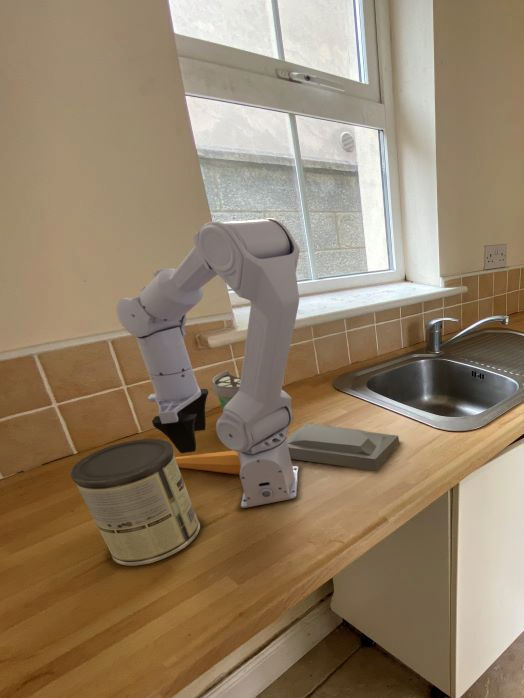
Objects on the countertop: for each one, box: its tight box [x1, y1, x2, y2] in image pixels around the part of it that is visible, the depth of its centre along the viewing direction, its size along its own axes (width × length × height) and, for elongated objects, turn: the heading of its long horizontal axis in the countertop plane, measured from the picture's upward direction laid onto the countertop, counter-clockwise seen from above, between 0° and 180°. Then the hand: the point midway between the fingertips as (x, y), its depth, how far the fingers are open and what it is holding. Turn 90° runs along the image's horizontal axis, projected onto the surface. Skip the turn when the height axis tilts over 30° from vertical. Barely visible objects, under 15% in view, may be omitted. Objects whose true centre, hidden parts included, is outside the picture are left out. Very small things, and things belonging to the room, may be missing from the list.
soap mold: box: [286, 423, 400, 471], centre depth 88 cm, size 10×20×4 cm, turn 82°
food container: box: [211, 370, 241, 410], centre depth 94 cm, size 12×6×10 cm, turn 62°
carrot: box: [175, 450, 241, 476], centre depth 81 cm, size 20×4×4 cm, turn 85°
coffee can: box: [69, 438, 201, 567], centre depth 62 cm, size 10×10×14 cm
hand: (193, 440), depth 79 cm, fingers open, 7 cm apart
